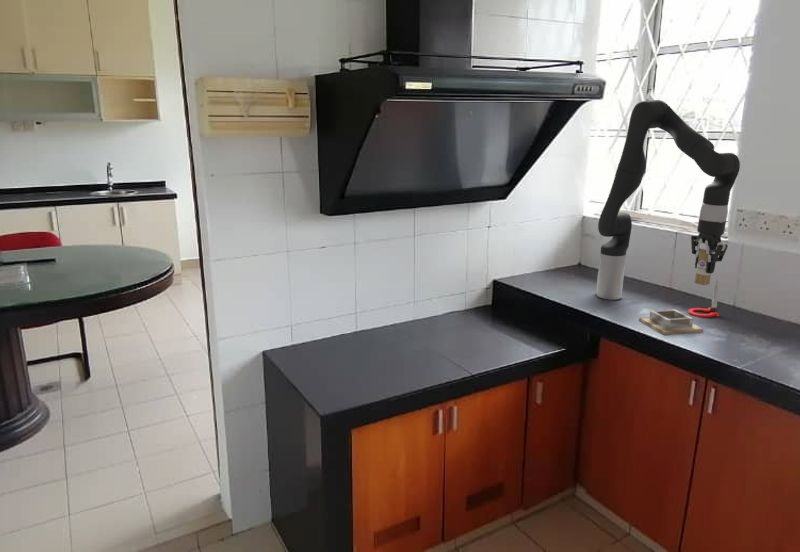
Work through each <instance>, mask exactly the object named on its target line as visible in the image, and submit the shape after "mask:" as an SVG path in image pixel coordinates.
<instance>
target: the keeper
mask: <svg viewBox="0 0 800 552" xmlns="http://www.w3.org/2000/svg"><path fill="white" fill-rule="evenodd" d="M638 320H639V321H640V322H641V323H643V324H644V325H646V326H648V327H650V328H652V329H653V330H655V331H657V332H658V333H660V334H662V335H664V336H665V335H667V334H668V335H678V334H692V333H702V332H704V328H702V327H700V326H698V325H696V324H694V318H693V317H691V316H690V315H687V314H685V313H683V312H682V311H679V310H677V309H675V308H674V309H662V310H658V309H657V310H650V312H649V316H645V317H644V316H642V317H638ZM668 335H667V336H668Z"/></svg>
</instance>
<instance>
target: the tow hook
mask: <svg viewBox="0 0 800 552" xmlns="http://www.w3.org/2000/svg"><path fill="white" fill-rule="evenodd" d="M718 281H719V279H718V278H716V279H715V281H714V285H713V294H712V295H713V296H712V300H711V306H709V307H708V308H703V307H702V308H701V307H692V308H689V309H688V310H687V313H688V314H689V316H690V315H691V316H694V317H696V316H697V318H713V317H716V318H720V316H721V314H720V313H719V312H718V300H717V298H718V289H719V285H718V283H719V282H718ZM697 312H705V313H704V314H703V313H697Z"/></svg>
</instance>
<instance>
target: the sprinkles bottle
mask: <svg viewBox="0 0 800 552" xmlns="http://www.w3.org/2000/svg"><path fill="white" fill-rule="evenodd" d="M706 249H707V246H706V245H705V243H704V242H703V243H701V244H700V253H699V259H698V263H697V269H696V268H695V269H696V270H695V277H694V278H695V279H694V280H693V281H694V283H695V284H697V285H701V286H708V285H710V283H711V277H712V273H709V274H708V273H706V267H707V262H708V255H707V254H706ZM715 250H716V249H715ZM715 250H710V251H711V252H715ZM712 258H713V254H712Z"/></svg>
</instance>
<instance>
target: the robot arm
mask: <svg viewBox="0 0 800 552" xmlns="http://www.w3.org/2000/svg"><path fill="white" fill-rule="evenodd" d="M657 128H658V129H660V130H662V131H664V132H665V133H668V134H669V135H670V136H671V138H672V139H673V141H674V143H675V145H676V147H677V149H679V150H680V151H681V152H682V153H684V154H685V155H686V156H687V157H689V158H690V159H692V160H693V161H694V162H695V164H696V165H697V166H698V168H700V170H701V172H703V173H704V174H705V175H707V176H709V177H712V178H714V179H713V181H712V182H711V183H710V184H708V185H706V186H705V187H704V191H703V198H702V203H701V207H700V210H699V218H698V223H697V229H696V230H697V232H698V234H697V235H691V237H690V239H691V240H690V242H691V253H692V255H694V256H695V262H694V263H695V265H694V268H695V269H697V263H698V259H699V253H700V244H701V243H703V242H704V243H705V245H706V246H707V249H706V254H707V255H708V262H707V267H706V273H708V274H709V273H711V274H713V273H714V272H715V268H716V263H717V262H722V261H723V259H724V256H725V254H726V252H727V249H728V247H729V246H728V244H725V243H724V242H722V235H724V233H725V230H726V224H727V218H728V212H729V211H728V210H729V202H730V195H731V191H732V188H733V187H734V184H735V182H736V180H737V177H738V175H739V172H740V167H741V161H740V159H739V156H738V155H736V154H735V153H732V152H721V153H720V152H717V151H716V150H715V146H714V144H713V142H711V141H710V140H709V139H708V138H707V137H705V136H703V135H702V134H700V133H699V132H698V131H696V130H695V129H694V128H692V127H691V126H690V125H689V124H687V123H686V122H685V121H684V119H682V118H681V117H680V116H679V115H678V114H677V112H675V110H673V108H671V106H669V104H667V103H666V101H663V100H661V99H653V100H642V101H639V102H637V103H636V104H635V105H634V107H633V109H632V111H631V114H630V118H629V123H628V128H627V133H626V137H625V142H624V146H623V147H622V148H623V149H622V152H621V156H620V159H619V161H618V165H617V168H616V170H615V175H614V179H613V183H612V186H611V189H610V190H609V193H608V197H607V199H606V201H605V203H604V204H605V205H604V207H603V209H602V211H601V214H600V216H599V218H598V219H599V220H598V224H597V228H598V229H597V230H598V233H599V234H600V236H602V237H607V238H611V239H610V240H609V241H607V242H606V243H604V244H602V245H601V247H600V256H599V266H598V271H597V277H596V290H595V294H596V297H597V298H600V299H604V300H613V301H614V300H620V299H622V296H623V295H622V294H623V285H624V279H625V278H624V276H625V268H626V267H625V266H626V257H627V251H628V248H629V246H630V240H631V235H632V234H631V233H632V229H633V228H632V218H631V214H629V213H628V212H626V211H620V210H621V208H622V206H623V204H624V203H625V202H626V201H627V200H628V199H629V198H630V197H631V196H632V195H633V194H634V193H635V191H636V190H637V189H638V188H639V187H640V186H641V183H642V180H643V178H644V174H645V172H646V168H647V161H646V160H647V159H646V155H645V151H644V144H645V139H646V136H647V133H648V132H649V129H657ZM715 249H716V250H715ZM710 250H715V252H711V251H710ZM712 254H713V258H712Z"/></svg>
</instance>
